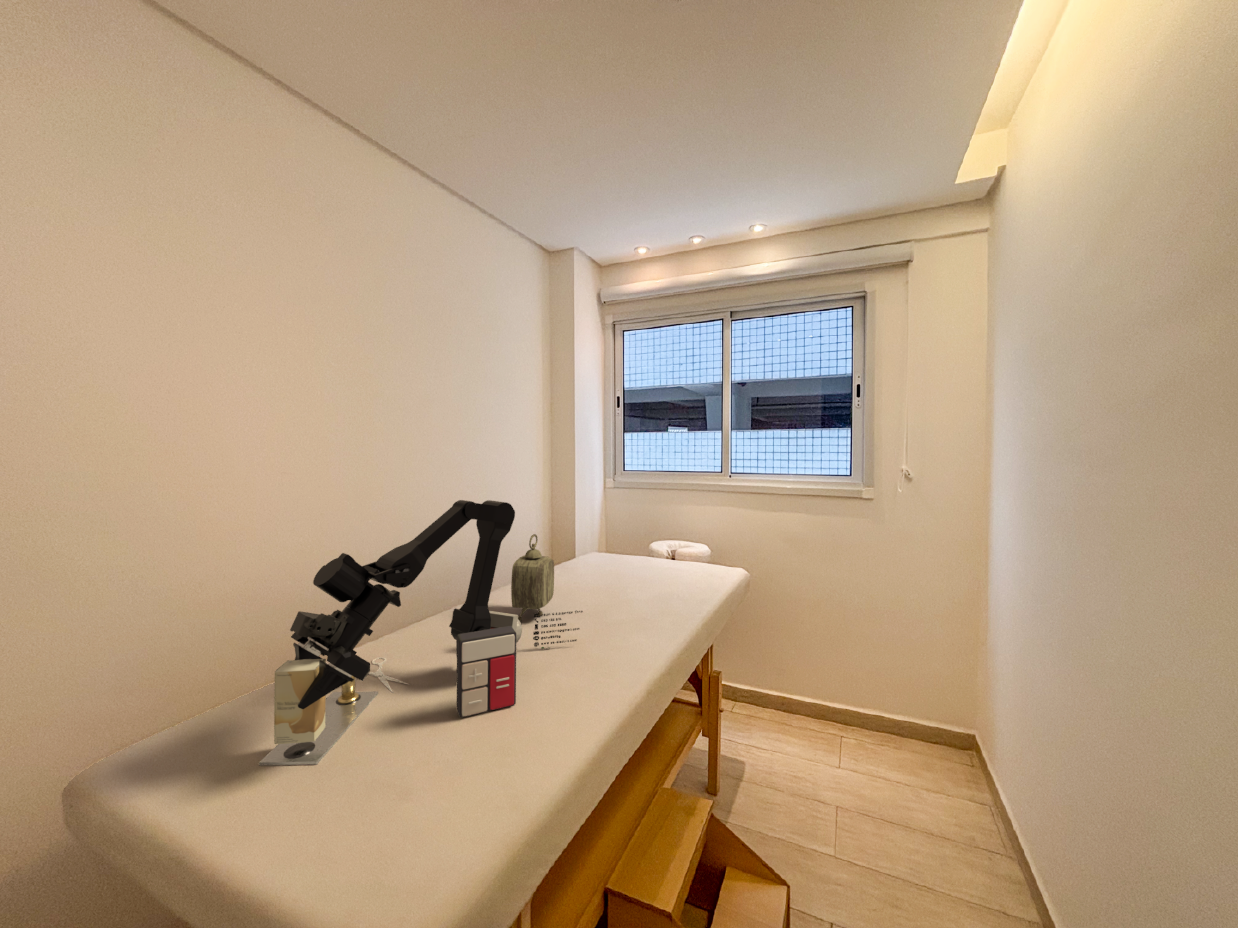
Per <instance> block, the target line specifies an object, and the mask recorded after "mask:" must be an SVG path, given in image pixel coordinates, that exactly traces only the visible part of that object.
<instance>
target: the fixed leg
mask: <svg viewBox="0 0 1238 928" xmlns="http://www.w3.org/2000/svg"><path fill="white" fill-rule="evenodd" d="M351 678H353V679H354V681H352V682H350V681H349V682H347V683H346V684H344V685H342V686H340V687H341V691H340V692H341V696H340V697H339V698H338V703H340V704H348V703H352V702H354V701H356V700H357V699H358V698H359V694H358V693H356V692H357V691H356V678H355V677H354V676H352V677H351Z"/></svg>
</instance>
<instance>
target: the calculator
mask: <svg viewBox="0 0 1238 928" xmlns="http://www.w3.org/2000/svg"><path fill="white" fill-rule="evenodd" d="M455 649H456V712H457V716H458V717H459V718H466V717H471V716H473V715H474V716H475V715H478V714H479V715H480V714H484V713H488V712H492V711H496V710H500V709H503V708H504V709H505V708H507V707H511V706H512V707H513V706H515V705H516V703H517V702H516V701H517V698H516V697H517V643H516V632H515V630H514V629H513V628H512V626H506V627H500V628H494V629H487V630H481V631H475V632H469V633H462V634H458V635H457V636H456V646H455Z"/></svg>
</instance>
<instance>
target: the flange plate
mask: <svg viewBox="0 0 1238 928" xmlns="http://www.w3.org/2000/svg"><path fill="white" fill-rule="evenodd" d="M355 692H356V693H358V694H359V698H358V699H357V700H356V701H354V702H352V703H348V704H340V703H338V698H339V697H340V696H341V691H332V692H331V694H330V695H328V696H327V697H326V699H325V728H324V730H323V731H322V732H321V734H320V735H319V736H318V738H317V739H316V740H315V741H314V742H303V743H289V744H276V746H275V747H273V748H272V749H271V751H269V753H267V754H266V755H265V756H264V757H263V758H262V759H261V760H260V761H259V762H258V766H296V765H298V766H301V765H302V766H303V765H305V766H306V765H311V766H312V765H318V764H319V763H320V762H321V761H322V760H323V758H325V756H326V754H328V752H329V751H330V750H331V749H332V748H333V746H334V745H335V744H336V743H337V742H338V741H339V740H340V738H341V737H342V736H343V735H344V734H345V733H346V732H347V730H348V729H350V728H351V726H352V725H353V724H354V722H355V721H356V720H357V719H358V718H359V717H360V715H361V714H362V713H363V712H364V711H365V710H366V709H367V708H368V706H369V705H370V704H371V703H372V701H374V699H375V698H376V697H377V696H378V695H379V691H376V690H375V691H373V690H372V691H369V690H368V691H355Z"/></svg>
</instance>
